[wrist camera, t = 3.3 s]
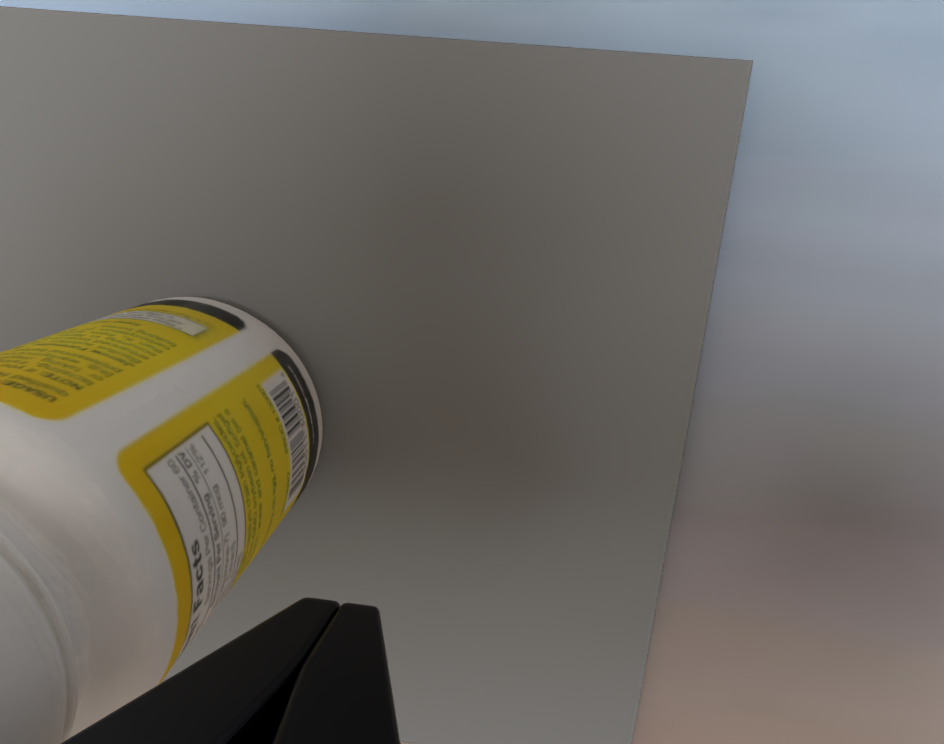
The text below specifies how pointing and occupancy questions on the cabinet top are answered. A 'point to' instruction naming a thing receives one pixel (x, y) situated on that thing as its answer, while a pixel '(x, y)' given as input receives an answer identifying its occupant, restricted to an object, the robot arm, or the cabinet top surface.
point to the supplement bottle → (135, 497)
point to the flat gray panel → (409, 316)
